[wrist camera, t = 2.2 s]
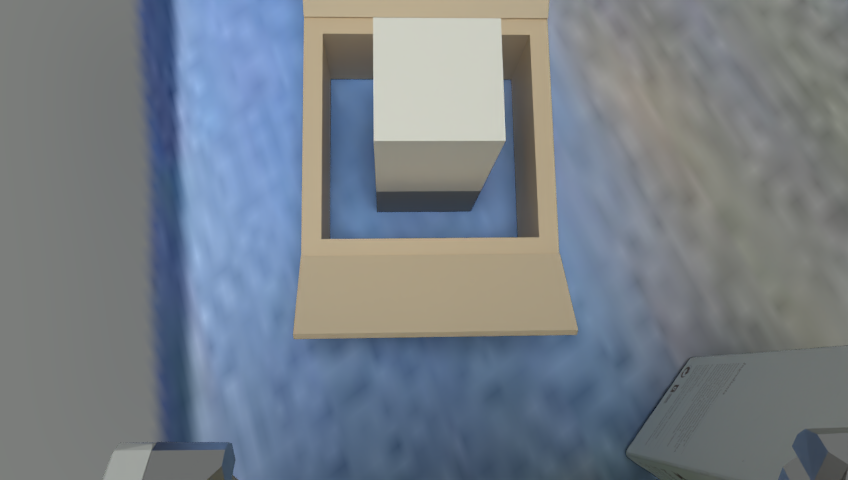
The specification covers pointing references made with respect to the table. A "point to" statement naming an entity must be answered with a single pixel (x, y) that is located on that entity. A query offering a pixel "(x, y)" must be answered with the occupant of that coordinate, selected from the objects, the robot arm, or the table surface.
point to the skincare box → (742, 414)
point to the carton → (431, 257)
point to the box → (436, 111)
